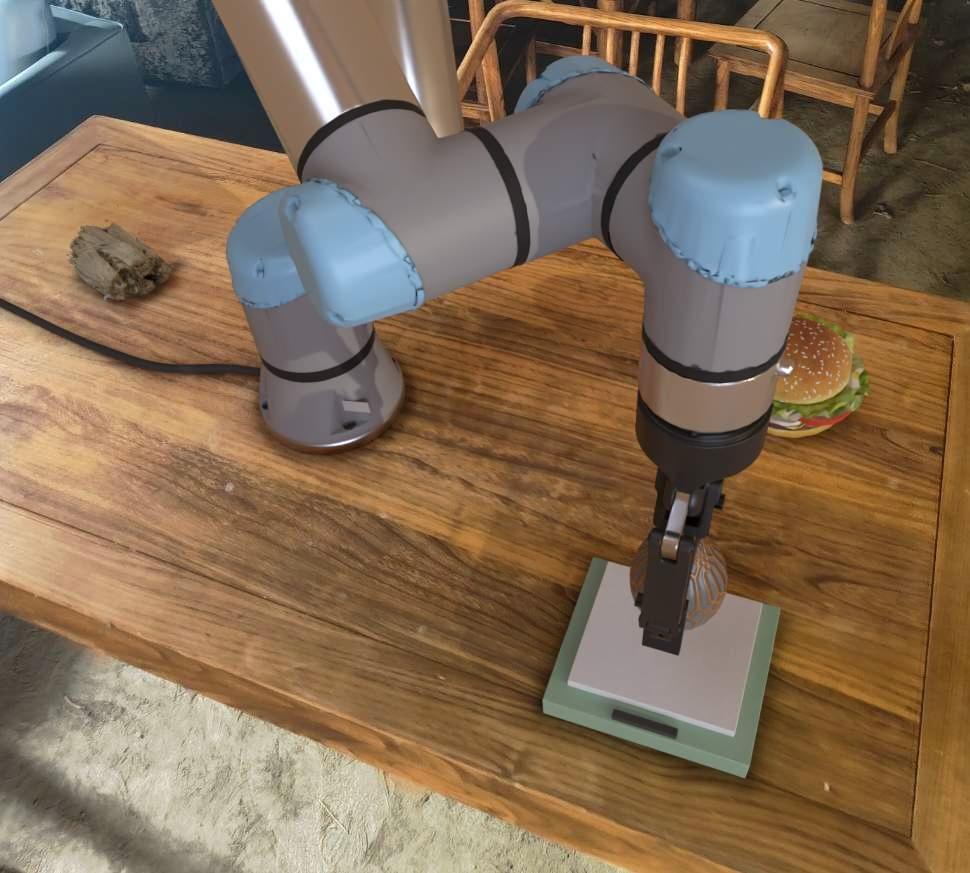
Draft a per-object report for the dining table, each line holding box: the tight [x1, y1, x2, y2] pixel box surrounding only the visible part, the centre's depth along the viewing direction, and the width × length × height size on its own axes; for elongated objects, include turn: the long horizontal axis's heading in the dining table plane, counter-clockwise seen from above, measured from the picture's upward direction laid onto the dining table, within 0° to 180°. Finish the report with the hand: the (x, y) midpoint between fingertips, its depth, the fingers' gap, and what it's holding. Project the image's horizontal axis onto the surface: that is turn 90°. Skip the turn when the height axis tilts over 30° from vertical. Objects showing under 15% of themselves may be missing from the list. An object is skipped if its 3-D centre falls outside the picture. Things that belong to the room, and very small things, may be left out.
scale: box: [541, 556, 782, 779], centre depth 75 cm, size 16×14×3 cm
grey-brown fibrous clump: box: [65, 219, 175, 304], centre depth 113 cm, size 14×10×5 cm, turn 47°
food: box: [767, 313, 871, 439], centre depth 91 cm, size 14×14×8 cm
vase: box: [629, 536, 729, 631], centre depth 66 cm, size 7×7×9 cm
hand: (673, 602), depth 69 cm, fingers closed on vase, 7 cm apart
